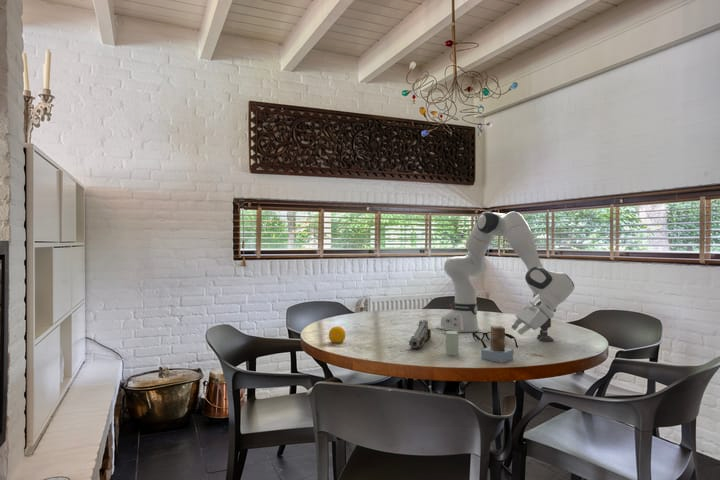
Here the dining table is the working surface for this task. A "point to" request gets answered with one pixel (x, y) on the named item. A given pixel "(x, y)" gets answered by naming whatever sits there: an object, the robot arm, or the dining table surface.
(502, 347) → the walnut block
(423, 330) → the toy
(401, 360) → the dining table surface
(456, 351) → the sage block
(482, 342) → the glasses
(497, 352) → the slate pedestal
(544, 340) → the toy robot
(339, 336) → the orange
